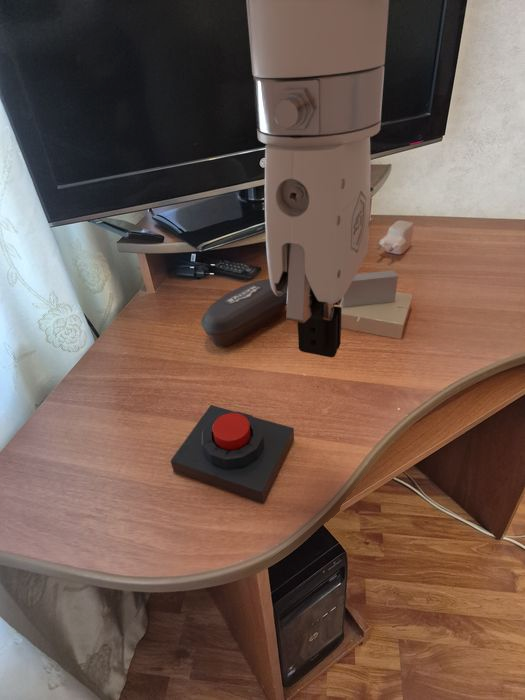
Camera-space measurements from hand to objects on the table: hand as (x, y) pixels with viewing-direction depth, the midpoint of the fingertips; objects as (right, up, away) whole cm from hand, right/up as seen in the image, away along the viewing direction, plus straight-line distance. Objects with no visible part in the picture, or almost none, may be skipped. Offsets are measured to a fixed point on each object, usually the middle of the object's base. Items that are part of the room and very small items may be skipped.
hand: (319, 348), depth 37 cm
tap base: (+13, +6, +40) cm, 43 cm away
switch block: (-8, -13, +18) cm, 24 cm away
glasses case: (-7, +4, +40) cm, 41 cm away
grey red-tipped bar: (+13, +8, +38) cm, 42 cm away
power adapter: (+24, +21, +59) cm, 67 cm away
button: (-8, -11, +15) cm, 20 cm away
